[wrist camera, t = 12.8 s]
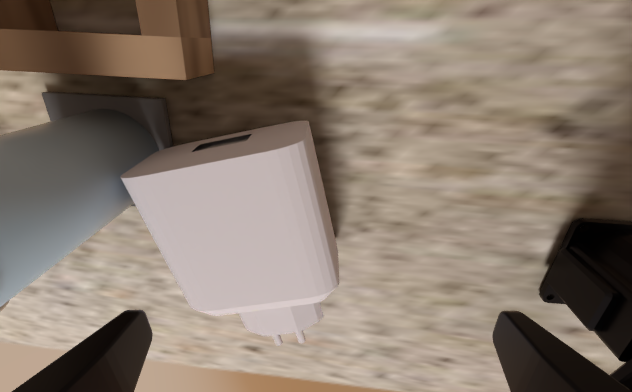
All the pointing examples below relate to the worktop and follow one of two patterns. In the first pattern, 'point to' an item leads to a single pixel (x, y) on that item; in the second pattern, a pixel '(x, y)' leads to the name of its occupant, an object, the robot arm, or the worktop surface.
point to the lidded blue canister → (62, 188)
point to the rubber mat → (139, 108)
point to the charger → (243, 225)
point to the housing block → (109, 42)
